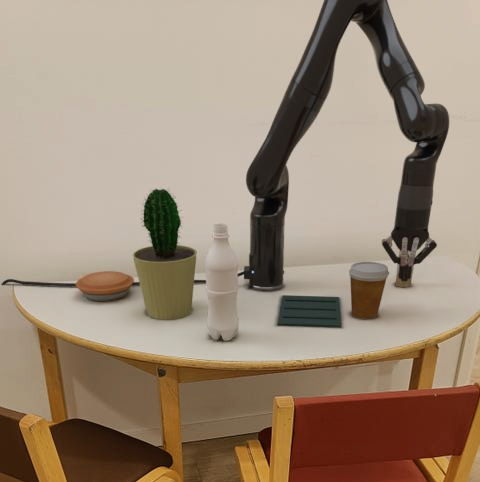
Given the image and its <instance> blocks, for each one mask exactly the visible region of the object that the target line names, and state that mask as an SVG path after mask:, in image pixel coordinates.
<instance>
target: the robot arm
mask: <svg viewBox="0 0 480 482" xmlns="http://www.w3.org/2000/svg"><path fill="white" fill-rule="evenodd" d="M351 22H352V23H355V24H356V25H357V26H358V27H359V28H360V30H361V31H362V33H363V34H364V35H365V36H366V38H367V40H368V41H369V43H370V45H371V47H372V51H373V55H374V59H375V66H376V68H377V69H376V70H377V71H378V74H379V77H380V79H381V82H382V84H383V85H384V87H385V89H386V91H387V93H388V95H389V97H390V98H391V100H392V102H393V108H394V112H395V117H396V121H397V125H398V127H399V130H400V132H401V134H402V136H404V138H405V139H407V140H408V141H409V142H411V143H415V146H414V149H413V151H412V152H411V153H409V154H408V155H406V157H405V158H404V159H403V163H402V171H401V178H400V180H401V181H400V185H399V190H398V194H397V201H396V210H395V217H394V224H393V229H392V230H391V232H390V236H388V237H387V238H383V239H382V240H381V246H382V247H383V249H384V250H385V252H386V253H387V255H388V256H389V259H391V261H392V263H393V264H399V271H398V277H399V279H400V280H401V281H404V282H407V281H408V279H410V278H411V272H412V267H413V265H414V266H415V265H419V264H421V263H422V262H424V260H425V259H426V258H427V257H428V256H429V255H430V254H431V253H432V252H433V251H434V250H435V249H436V248H437V247H438V244H437V242H436V240H435V239H432V238H431V237H430V232H429V224H430V218H431V212H432V206H433V199H434V184H435V176H436V170H437V164H438V161H439V158H440V156H441V154H442V151H443V148H444V145H445V142H446V140H447V137H448V135H449V129H450V114H449V111H448V109H447V108H446V106H444V105H443V104H441V103H437V102H436V103H424V100H423V99H422V95H423V93H424V91H425V87H426V83H425V79H424V78H423V75H422V74H421V72H420V70H419V68H418V66H417V65H416V62H415V60H414V59H413V56H412V55H411V53H410V51H409V50H408V47H407V46H406V44H405V42H404V40H403V38H402V36H401V34H400V31H399V29H398V27H397V24H396V22H395V19H394V17H393V13H392V10H391V8H390V5H389V2H388V0H323V2H322V5H321V8H320V11H319V13H318V16H317V20H316V22H315V24H314V27H313V29H312V32H311V35H310V37H309V39H308V42H307V43H306V46H305V49H304V50H303V53H302V55H301V58H300V60H299V62H298V65H297V67H296V69H295V70H294V72H293V75H292V76H291V79H290V81H289V83H288V85H287V87H286V89H285V92H284V94H283V96H282V99H281V101H280V104H279V106H278V108H277V110H276V113H275V115H274V117H273V120H272V123H271V125H270V128H269V130H268V132H267V135H266V137H265V139H264V141H263V143H262V144H261V146H260V147H259V150H258V151H257V153H256V154H255V156H254V158H253V160H252V161H251V163H250V164H249V166H248V167H247V171H246V174H245V185H246V188H247V190H248V192H249V194H250V195H251V196H253V197H254V203H253V206H252V209H251V211H250V213H249V255H248V265H244V267H243V271H240V272H238V278H239V277H241V276H243V280H248V288H249V289H251V290H253V289H254V290H256V291H263V292H266V291H267V292H268V291H270V292H271V291H277V290H280V289H282V288H283V287H284V275H285V270H284V261H285V260H284V259H285V227H286V226H285V224H286V222H285V221H286V214H287V210H288V203H289V189H290V173H289V168H288V166H287V164H288V161H289V159H290V157H291V155H292V153H293V152H294V149H295V148H296V146H297V145H298V144H299V142H301V140H302V138H304V136H305V135H306V133H307V132H308V131H309V130H310V128H311V127H312V125H313V123H314V122H315V121H316V119H317V118H318V116H319V114H320V113H321V111H322V108H323V107H324V104H325V102H326V100H327V99H328V96H329V94H330V91H331V88H332V84H333V80H334V75H335V74H334V73H335V63H336V56H337V52H338V49H339V46H340V44H341V41H342V39H343V37H344V35H345V33H346V31H347V29H348V27H349V25H350V23H351ZM393 242H394V244H395V246H396V247H397V249H398V250H399V251H400V257H399V256H397V254H396V252H395V251H394V249H393V248H392V247H393ZM422 246H424V247H423V248H422V249H421V250H420V251H419V253H418V254H417V251H418V250H419V249H420V248H421V247H422ZM407 251H408V257H407V264H406V255H407ZM416 254H417V255H416ZM8 283H15V284H20V285H29V286H30V285H31V286H49V287H51V286H52V287H53V286H54V287H76V286H75V285H76V282H74V283H73V282H71V283H70V282H43V281H27V280H24V281H23V280H18V279H13V278H7V279H5V280H3V282H2V283H1V284H0V285H1V286H5V285H6V284H8ZM194 284H206V279H194ZM131 286H140V283H139V281H134V282H133V284H132V285H131Z"/></svg>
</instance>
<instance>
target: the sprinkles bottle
mask: <svg viewBox="0 0 480 482" xmlns="http://www.w3.org/2000/svg"><path fill="white" fill-rule="evenodd" d="M398 257H400V250H399V251H398ZM407 257H408V251H407V255H406V264H407ZM396 264H397V263H396ZM396 266H397V267H396V275H395V282H394V285H395V286H396V287H400V288H408V287H411V286H412V279H413V273H414V267H415V265H413V267H412V272H411V278H410V279H408V281H407V282H404V281H401V280H400V279H399V277H398V271H399V264H397V265H396Z"/></svg>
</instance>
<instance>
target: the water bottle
mask: <svg viewBox="0 0 480 482" xmlns="http://www.w3.org/2000/svg"><path fill="white" fill-rule="evenodd" d="M228 226H229V225H228V224H227V223H215V224H213V226H212V227H213V232H212V238H213V240H212V244H211V247H210V249H209V251H208V252H207V256H206V258H205V261H204V267H205V280H206V283H205V292H206V295H207V301H208V311H207V312H208V314H207V318H206V327H207V330H208V334H209V336H210V337H211V338H212V339H213V340H214V341H218V340H219V339H220V337H221V338H222V340H223V342H226V341H227V342H228V341H230V340H232V339H233V338H235V337H236V336H237V334H238V332H239V327H240V319H239V315H238V308H237V299H238V298H237V297H238V291H239V282H238V281H239V279H238V278H239V277H238V273H239V272H238V271H239V270H238V268H239V262H238V259H237V256H236V254H235V252H234V250H233V248H232V246H231V244H230V241H229V238H230V235H229V231H228V230H229V227H228Z"/></svg>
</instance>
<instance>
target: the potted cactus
mask: <svg viewBox="0 0 480 482" xmlns="http://www.w3.org/2000/svg"><path fill="white" fill-rule="evenodd" d="M172 195H173V192H171V190H170V188H167V189H164V188H159V189H158V188H154V189H150V191H149V193H148V194H146V197H147V198H146V197H143V199H144V200H142V201H143V202H141V205H143V209H141V211H143V213H141V216H142V215H143V217H141V219H140V221H142V222H140V224H142V225H141V228H145V230H146V231H147V235H148V238H150V239H149V240H148V241H149V243H150V245H149V246H146V247H141V248H139V249H137V250H135V251H133V253H132V257H133V262H134V266H135V267H134V268H135V270H136V271H135V272H136V275H137V279H138V282H139V283H140V285H139V286H140V291H141V294H142V295H141V296H142V298H143V303H144V306H145V311H146V314H147V316H149V317H151V318H154V319H156V320H157V319H158V320H176V319H180V318H184V317H187V316H188V315H189V314H191V312H192V309H193V308H192V307H193V297H194V285H195V283H194V280H195V274H196V265H197V264H196V263H197V254H198V251H197V249H195V248H193V247H192V246H187V245H183V244H181V243H180V242H179V241H178V240H179V239H180V238H181V236H180V235H179V230H180V227H181V228H183V223H182V219H183V217H181V216H180V213H179V212H181V211H182V209H180V210H179V209H178V207H179V205H178V203H177V202H176V201H175V197H174V196H172ZM148 241H147V242H148Z"/></svg>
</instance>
